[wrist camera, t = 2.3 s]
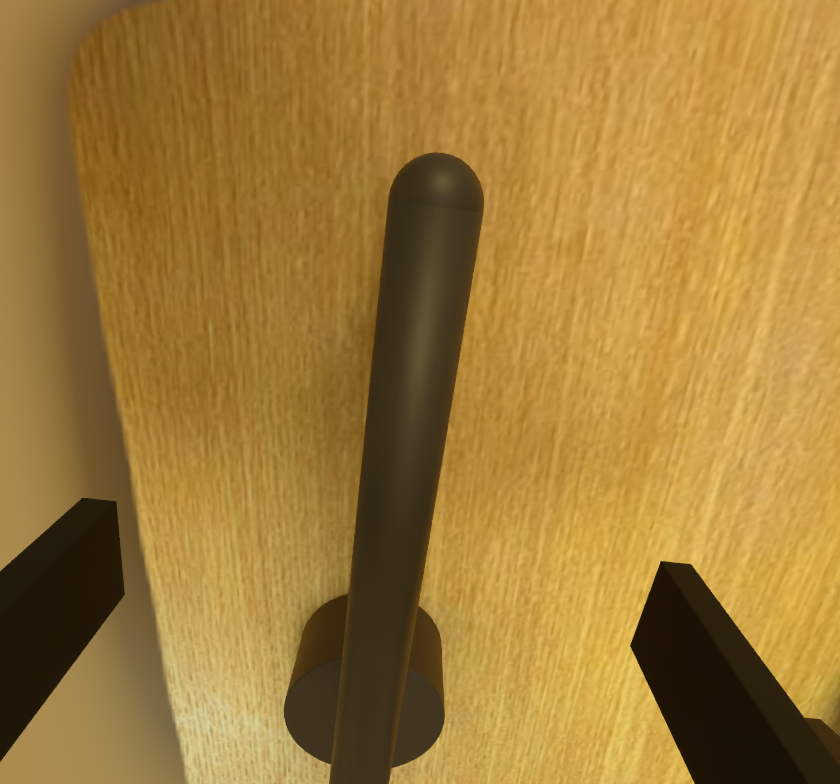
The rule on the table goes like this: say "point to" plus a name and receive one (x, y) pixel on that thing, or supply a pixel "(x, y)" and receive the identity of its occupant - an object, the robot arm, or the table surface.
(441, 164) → the ladle
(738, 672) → the robot arm
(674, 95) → the table surface
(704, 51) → the table surface
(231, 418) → the table surface
